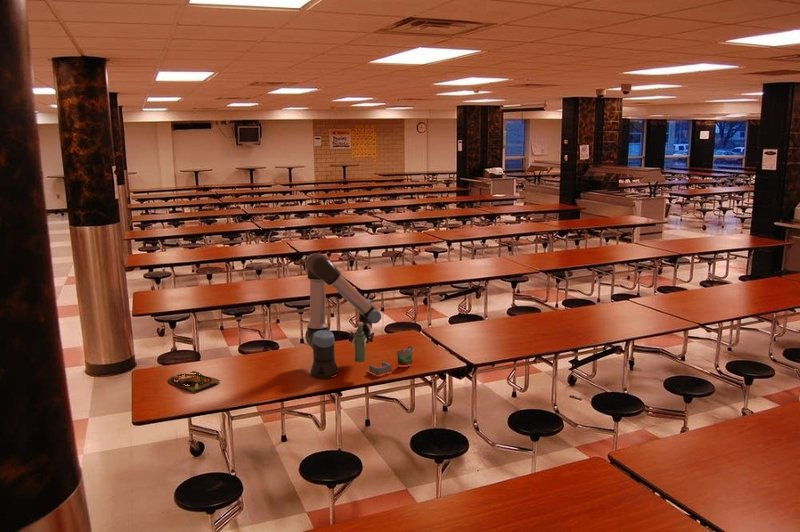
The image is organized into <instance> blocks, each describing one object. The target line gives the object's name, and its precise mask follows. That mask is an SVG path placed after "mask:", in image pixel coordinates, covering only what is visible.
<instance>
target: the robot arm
mask: <svg viewBox="0 0 800 532" xmlns="http://www.w3.org/2000/svg"><path fill="white" fill-rule="evenodd" d="M305 268H306V269H307V280H308V281H309V287H310V288H309V290H310V291H309V292H310V293H309V323H307V325H306V331H305V333H304V334H305V335H304V337H305V340H306V341H305V342H306V343H307V344H308V345H309V347H310V348H311V349H312V355H313V356H312V357H313V362H312V365H311V369H310V376H311V377H312V376H313V377H312V378H314V377H316V378H315V379H318V378H328V377H331V376H334V375H336V374H337V373H338V374H339V367H338V365H337V362H336V357H335V355H336V353H335V352H336V351H335V341H336V340H335V335H334V333H333V332H332V331H329V326H328V323H327V322H326V300H327V299H326V295H327V294H326V289H327V288H326V286H327V285H328V286H331V287H332V288H334V289H335V291H336V292H337V293H339V295H341V296H342V297H343V298H344V299H345V300H346V301H347V302H348V303H349V304H351V306H353V308H355V310H357V311H358V322H363V331H364V335H365V341H364V347H365V348H366V347H367V344H370V343H373V341H374V338H375V332H371V331H372V328H373V324H375V325H376V324H378V323H379V322H380V321H381V320H382V313H381V312H380V311H379V310H378V309H377V308H375V307H374V306H373V302H372V301H373V300H372V299H368V298H365V297H364V296H363V295H362V294H361V293H360V292H359V291H358V290H357V289H356V288H355V287H354V286H353V285H351V283H350V282H349V281H347V280H346V278H345V277H344V276H342V272H341V271H340V270H339V269H338V268H337V267H336V265H335V264H334V263H333V262H332V261H331V260H330V258H328V257H326V256H325V255H324V254H322V253H319V252H318V253H317V252H315V253H312V254H310V255H309V256H308V257H307V258H306V260H305ZM357 331H358V327H357V328H356V331H355V332H353V331H350V333H349V336H348V342H350V343H351V345H352V347H355V335H356V332H357ZM328 379H329V378H328Z"/></svg>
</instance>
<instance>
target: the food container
mask: <svg viewBox="0 0 800 532" xmlns="http://www.w3.org/2000/svg"><path fill="white" fill-rule="evenodd" d="M413 347H414V346H411V345H408V347H406V348H402V349H401V350H396V355H397V356H396V357H397V366H398V365H408V364H411V363H412V364H413V354H414V352H415V350H414V348H413Z"/></svg>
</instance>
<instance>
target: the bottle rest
mask: <svg viewBox="0 0 800 532" xmlns="http://www.w3.org/2000/svg"><path fill="white" fill-rule="evenodd" d="M392 369H393V368H392V364H390V363H388V362H386V361H381V366H380V368H379V367H377V366H374V365H372V364H369V365H368V370H369V371H370V372H372V373H374V374H376V375H380V374H383V373H387V372H390V371H392ZM392 372H393V371H392Z"/></svg>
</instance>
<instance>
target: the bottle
mask: <svg viewBox="0 0 800 532" xmlns="http://www.w3.org/2000/svg"><path fill="white" fill-rule="evenodd" d="M357 328H358V331H357V330H356V331H357V332H356V331H355V332H356V335H354V336H355V344H354V362H355V363H356V362H357V363H363V362H366V347H364V341H365V335H364V331H363V322H359V321H357Z"/></svg>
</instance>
